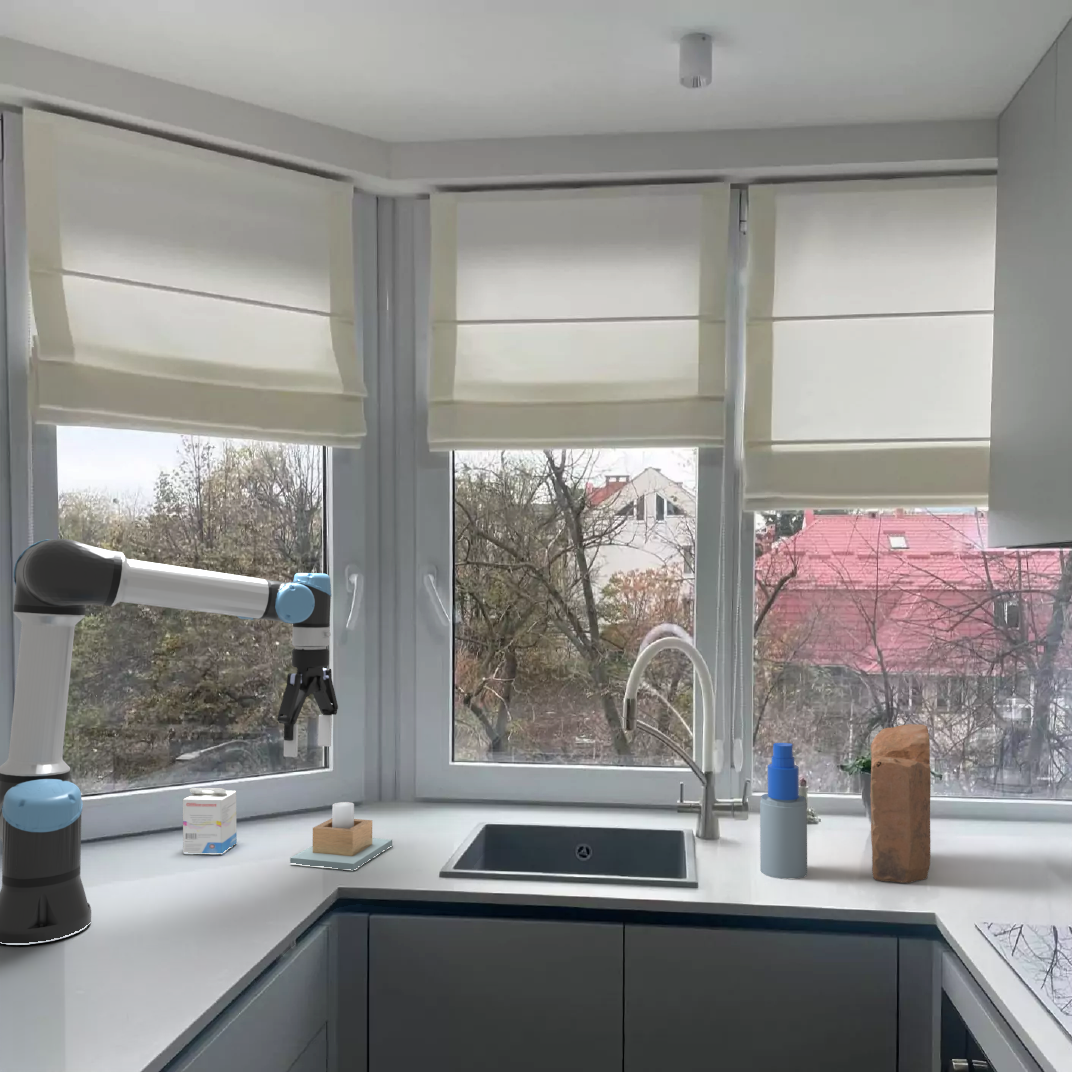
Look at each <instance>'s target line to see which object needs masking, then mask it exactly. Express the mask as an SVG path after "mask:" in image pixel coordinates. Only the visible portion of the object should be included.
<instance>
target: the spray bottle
mask: <svg viewBox="0 0 1072 1072" xmlns="http://www.w3.org/2000/svg"><path fill="white" fill-rule="evenodd" d="M793 747H794V744H793V743H789V742H774V743H773V746H772V756H771V763H769V764H767V793H764V794H762V795H761V796H760V800H759V816H760V817H759V820H760V821H759V827H760V829H759V832H760V833H759V835H760V837H759V838H760V839H759V840H760V841H759V842H760V845H759V847H760V850H759V851H760V857H759V858H760V862H759V863H760V864H759V865H760V872H761V874H763V875H765V876H768V877H770V878H776V879H781V878H798V879H801V878H805V877H806V876H807V875H808V803H807V801H806V797H804V796H802V795H801V794H800V788H799V787H800V785H799V784H800V779H799V777H800V773H799V771H800V770H799V769H800V767H799V765H798V764H797V765H796V764H795V757H794V753H793ZM804 876H805V877H804Z"/></svg>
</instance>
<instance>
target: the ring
mask: <svg viewBox="0 0 1072 1072" xmlns="http://www.w3.org/2000/svg"><path fill="white" fill-rule="evenodd" d="M372 838H373V820H372V819H361V818H354V827H352V828H350V829H345V828H333V827H332V818H330V819H327V820H325V821H323V822H321V823H320V824H317V825H315V826H314V827H312V846H313V853H322V854H333V855H344V856H354V855H356V854H357V853H359V852H360V851H362V850H364V849H365V848H367V847H369V846H370V845H372Z"/></svg>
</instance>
